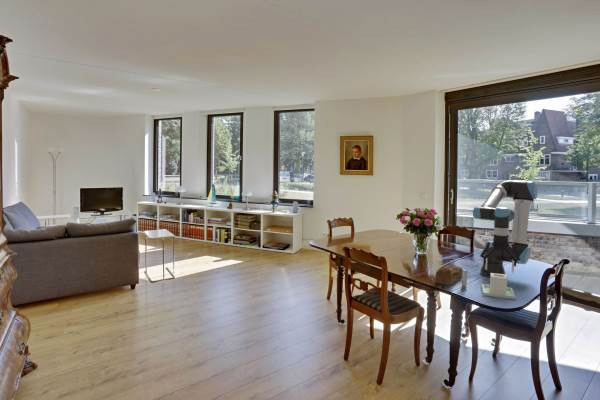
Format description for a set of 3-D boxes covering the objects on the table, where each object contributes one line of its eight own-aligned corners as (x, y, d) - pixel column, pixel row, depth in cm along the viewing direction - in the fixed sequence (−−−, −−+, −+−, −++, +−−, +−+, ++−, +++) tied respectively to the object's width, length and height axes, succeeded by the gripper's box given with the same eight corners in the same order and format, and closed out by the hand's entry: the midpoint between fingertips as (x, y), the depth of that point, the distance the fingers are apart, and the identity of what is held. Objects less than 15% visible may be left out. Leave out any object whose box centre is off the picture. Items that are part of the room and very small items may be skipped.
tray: (481, 287, 231) (481, 284, 230) (511, 290, 224) (511, 287, 224) (483, 295, 216) (483, 292, 216) (515, 299, 210) (515, 296, 210)
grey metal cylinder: (460, 287, 230) (461, 269, 228) (467, 288, 228) (468, 270, 227) (460, 289, 226) (461, 270, 225) (467, 290, 225) (468, 271, 224)
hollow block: (489, 289, 225) (490, 272, 224) (504, 291, 222) (505, 274, 221) (490, 293, 218) (491, 276, 217) (506, 295, 215) (507, 278, 214)
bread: (451, 286, 232) (451, 270, 231) (434, 282, 239) (435, 267, 238) (462, 280, 245) (463, 264, 244) (446, 276, 253) (447, 261, 252)
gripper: (477, 234, 218) (475, 270, 221) (527, 237, 208) (524, 274, 211) (476, 231, 225) (475, 266, 228) (525, 234, 215) (522, 270, 218)
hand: (499, 270), depth 219 cm, fingers open, 13 cm apart
